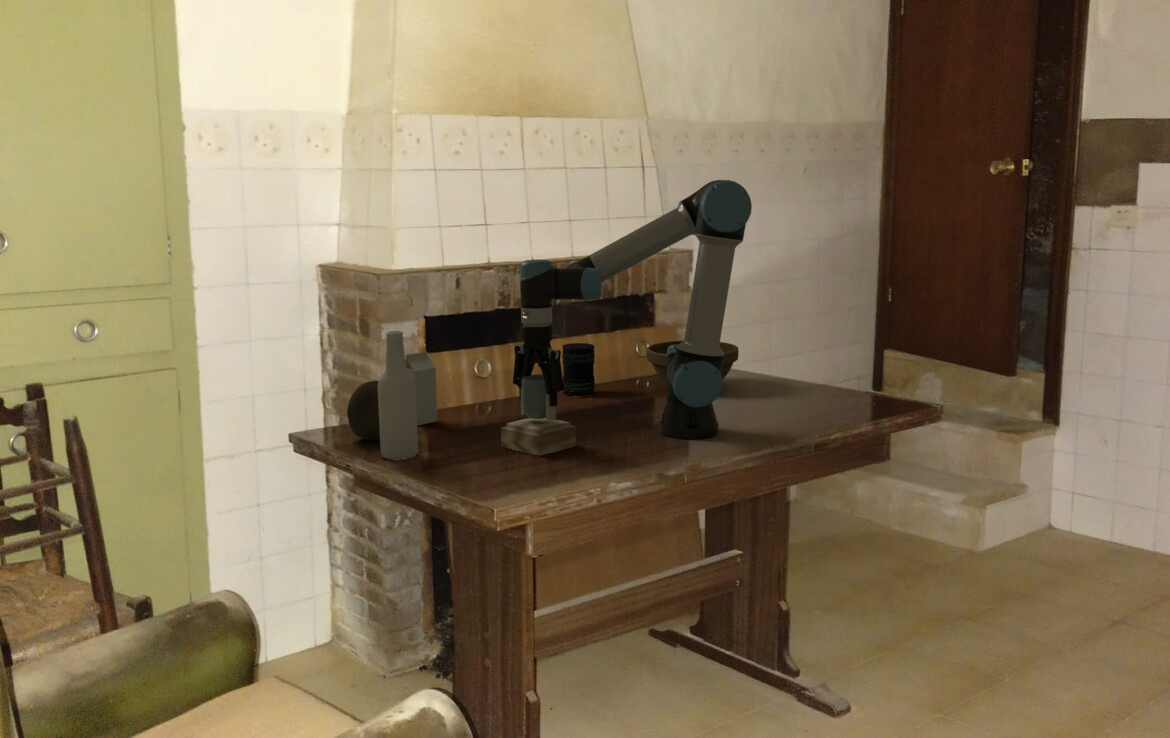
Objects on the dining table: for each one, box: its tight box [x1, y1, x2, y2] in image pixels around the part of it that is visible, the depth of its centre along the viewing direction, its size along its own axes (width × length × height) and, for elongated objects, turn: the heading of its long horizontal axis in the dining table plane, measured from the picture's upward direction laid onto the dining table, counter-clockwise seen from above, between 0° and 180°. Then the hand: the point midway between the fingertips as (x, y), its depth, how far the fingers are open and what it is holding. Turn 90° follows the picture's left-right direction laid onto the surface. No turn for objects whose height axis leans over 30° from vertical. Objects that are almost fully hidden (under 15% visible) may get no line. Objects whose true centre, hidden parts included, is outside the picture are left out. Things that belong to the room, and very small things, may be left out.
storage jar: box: [561, 342, 596, 397], centre depth 319 cm, size 10×10×15 cm
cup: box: [522, 373, 553, 419], centre depth 257 cm, size 8×8×10 cm
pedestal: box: [500, 417, 577, 457], centre depth 259 cm, size 13×13×6 cm
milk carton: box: [405, 351, 438, 427], centre depth 284 cm, size 7×7×19 cm
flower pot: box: [645, 340, 739, 385], centre depth 326 cm, size 28×28×13 cm
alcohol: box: [378, 330, 419, 459], centre depth 249 cm, size 9×9×30 cm
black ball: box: [346, 380, 380, 442], centre depth 266 cm, size 14×14×15 cm
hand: (538, 416), depth 258 cm, fingers closed on cup, 8 cm apart
